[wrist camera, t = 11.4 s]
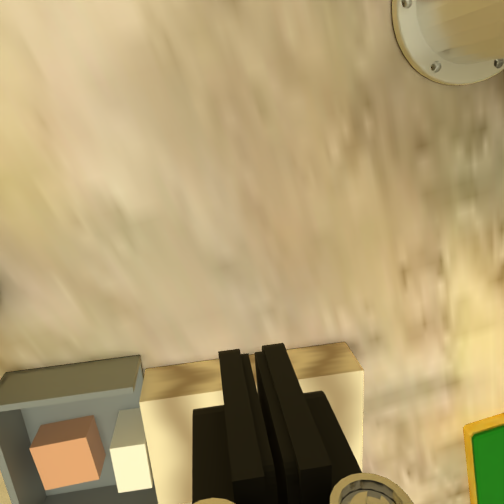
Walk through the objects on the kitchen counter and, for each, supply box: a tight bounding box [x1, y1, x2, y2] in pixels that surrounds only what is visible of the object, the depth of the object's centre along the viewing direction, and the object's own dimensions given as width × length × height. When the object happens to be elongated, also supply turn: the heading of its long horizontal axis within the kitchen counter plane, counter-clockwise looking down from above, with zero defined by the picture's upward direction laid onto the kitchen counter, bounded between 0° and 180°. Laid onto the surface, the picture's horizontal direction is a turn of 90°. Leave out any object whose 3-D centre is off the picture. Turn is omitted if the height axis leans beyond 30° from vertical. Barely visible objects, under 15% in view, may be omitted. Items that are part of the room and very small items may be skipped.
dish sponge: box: [463, 413, 504, 504], centre depth 50 cm, size 7×14×2 cm, turn 15°
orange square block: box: [29, 415, 106, 490], centre depth 40 cm, size 5×5×3 cm
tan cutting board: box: [139, 342, 364, 504], centre depth 41 cm, size 20×12×5 cm, turn 94°
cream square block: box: [110, 408, 153, 493], centre depth 40 cm, size 5×5×3 cm
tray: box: [0, 355, 158, 504], centre depth 39 cm, size 12×15×5 cm
